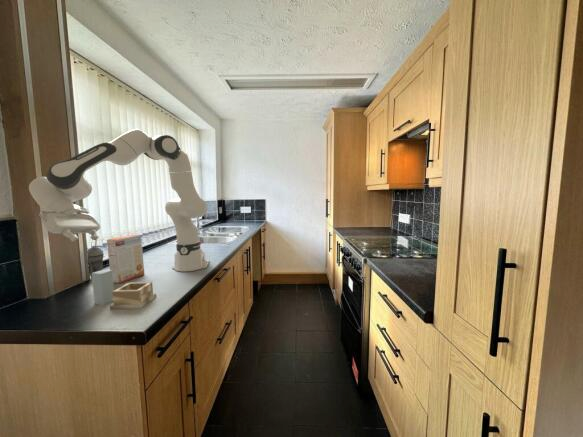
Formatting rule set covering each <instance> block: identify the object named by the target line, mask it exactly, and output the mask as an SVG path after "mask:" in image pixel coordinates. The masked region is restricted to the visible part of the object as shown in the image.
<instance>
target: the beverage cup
mask: <svg viewBox="0 0 583 437" xmlns="http://www.w3.org/2000/svg"><path fill="white" fill-rule="evenodd" d="M94 241H95V242H94V244H95V245H94V247H90V248H88V250H87V251H86V252H87V253H88V262H87V266H88V265H89V267H88V271H89V276H90V279H91V280H92V273H94V272H97V271H100V270H104V269H103V268H104V267H103V266H104V263H103V260H104V255H105V254H104V252H103V249H101V248H100V247H97V241H98V239H97V240H94Z"/></svg>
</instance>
